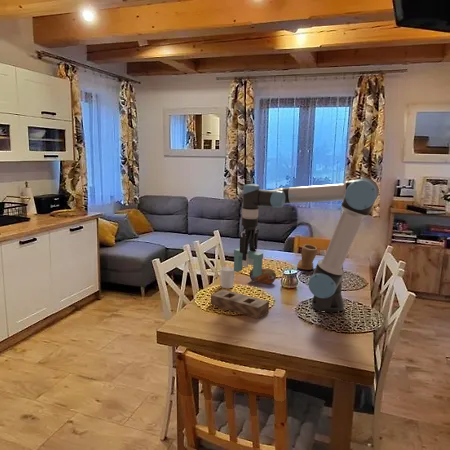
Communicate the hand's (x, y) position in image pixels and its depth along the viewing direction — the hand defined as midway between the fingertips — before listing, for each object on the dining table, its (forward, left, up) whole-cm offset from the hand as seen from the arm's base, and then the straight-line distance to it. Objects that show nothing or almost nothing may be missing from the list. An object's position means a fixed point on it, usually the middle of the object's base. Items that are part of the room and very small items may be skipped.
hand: (247, 265), depth 194 cm
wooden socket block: (-1, +7, -19) cm, 20 cm away
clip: (0, 0, -4) cm, 4 cm away
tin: (+9, -33, -19) cm, 39 cm away
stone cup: (+1, -76, -19) cm, 78 cm away
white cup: (+21, -15, -19) cm, 32 cm away
